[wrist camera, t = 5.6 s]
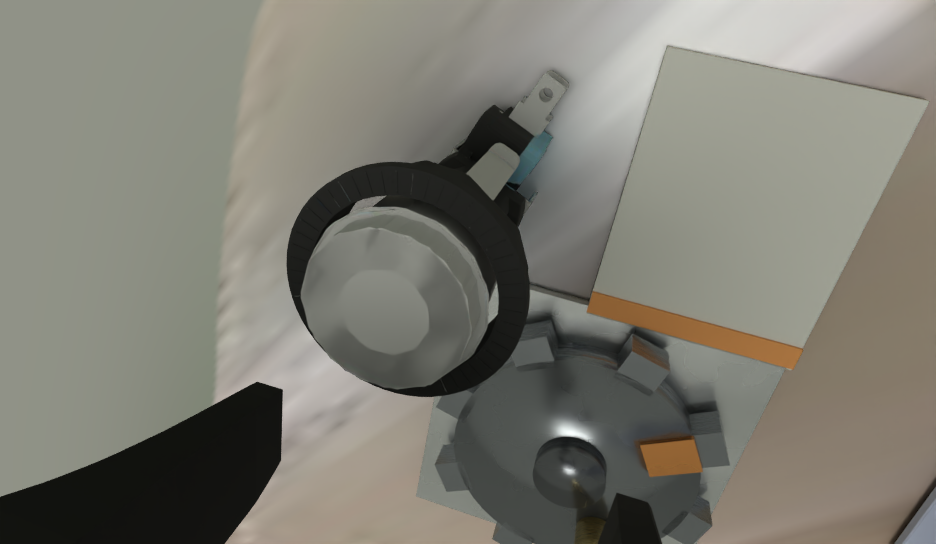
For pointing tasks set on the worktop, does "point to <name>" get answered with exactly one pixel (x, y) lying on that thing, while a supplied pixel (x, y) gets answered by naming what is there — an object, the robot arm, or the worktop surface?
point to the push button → (425, 257)
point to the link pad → (746, 202)
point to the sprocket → (580, 442)
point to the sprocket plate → (691, 377)
